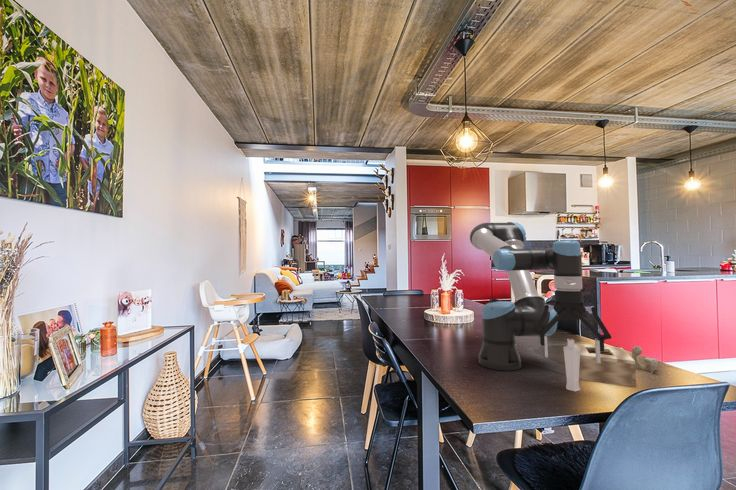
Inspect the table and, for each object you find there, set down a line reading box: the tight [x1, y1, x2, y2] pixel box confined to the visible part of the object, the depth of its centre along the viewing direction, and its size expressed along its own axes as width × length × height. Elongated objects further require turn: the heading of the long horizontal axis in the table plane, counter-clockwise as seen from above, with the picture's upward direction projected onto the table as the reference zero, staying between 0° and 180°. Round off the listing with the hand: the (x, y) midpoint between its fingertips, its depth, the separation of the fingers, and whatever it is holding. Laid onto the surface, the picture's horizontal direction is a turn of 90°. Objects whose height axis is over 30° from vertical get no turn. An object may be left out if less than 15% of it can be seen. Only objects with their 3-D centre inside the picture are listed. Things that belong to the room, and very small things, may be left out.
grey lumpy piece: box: [631, 345, 660, 374], centre depth 114 cm, size 9×6×10 cm
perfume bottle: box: [563, 338, 581, 392], centre depth 99 cm, size 5×4×15 cm
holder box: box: [574, 342, 637, 388], centre depth 110 cm, size 16×16×8 cm
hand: (571, 359), depth 99 cm, fingers open, 13 cm apart
